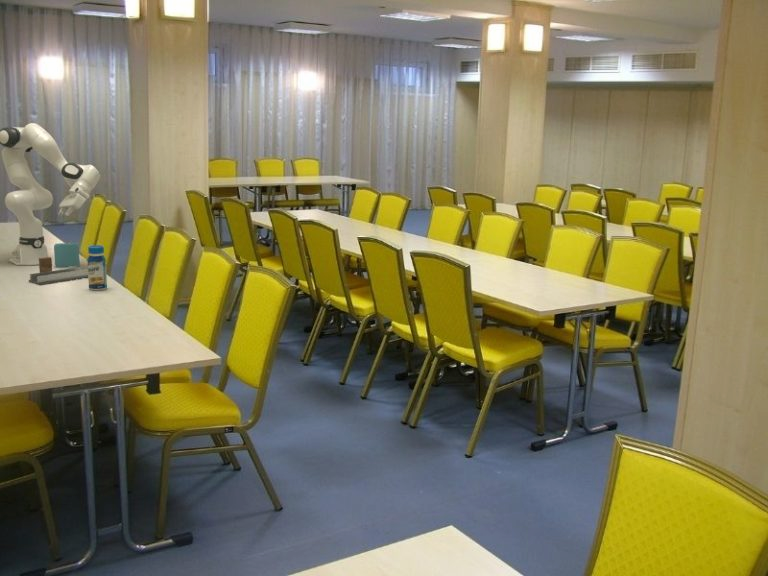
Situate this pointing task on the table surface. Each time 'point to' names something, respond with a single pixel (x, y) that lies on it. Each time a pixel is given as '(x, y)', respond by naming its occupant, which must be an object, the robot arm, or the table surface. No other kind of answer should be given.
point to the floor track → (58, 276)
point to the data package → (66, 254)
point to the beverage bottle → (97, 268)
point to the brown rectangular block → (45, 264)
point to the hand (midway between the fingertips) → (62, 215)
